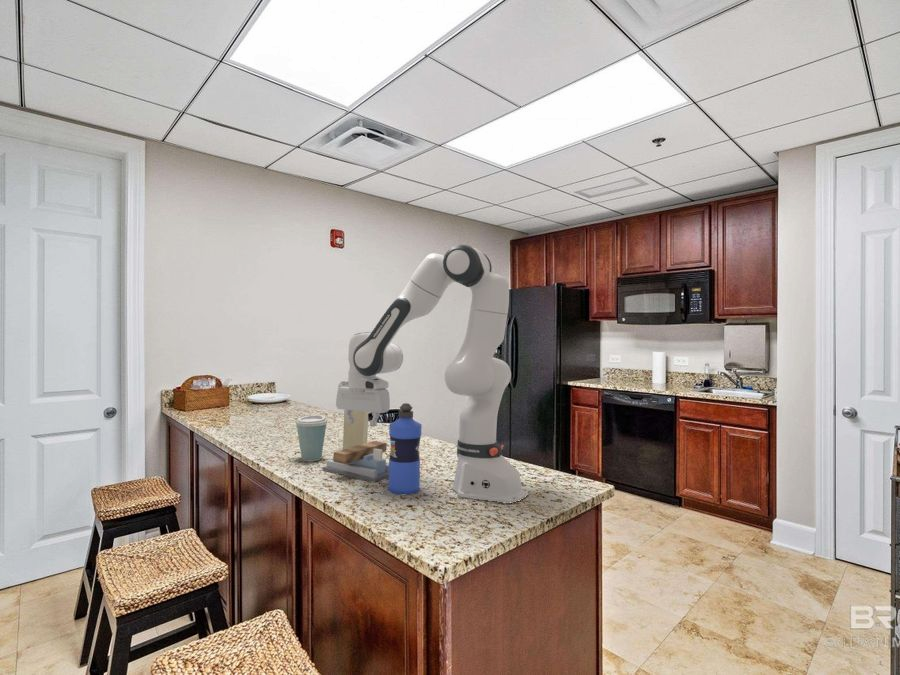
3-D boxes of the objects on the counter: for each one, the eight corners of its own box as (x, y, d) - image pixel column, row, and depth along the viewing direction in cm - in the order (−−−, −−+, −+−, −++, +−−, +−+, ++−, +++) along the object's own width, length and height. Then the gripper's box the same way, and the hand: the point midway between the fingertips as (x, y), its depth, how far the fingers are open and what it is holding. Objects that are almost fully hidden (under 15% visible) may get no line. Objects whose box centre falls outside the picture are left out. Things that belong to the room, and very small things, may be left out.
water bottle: (390, 495, 132) (392, 406, 132) (385, 485, 141) (388, 401, 140) (422, 493, 134) (425, 406, 134) (416, 483, 143) (418, 401, 143)
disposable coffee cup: (317, 464, 161) (318, 420, 161) (288, 462, 163) (290, 418, 163) (331, 457, 171) (332, 415, 171) (304, 454, 173) (305, 414, 173)
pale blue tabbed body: (385, 472, 151) (386, 448, 151) (376, 475, 147) (377, 451, 147) (339, 462, 161) (339, 440, 161) (329, 464, 157) (330, 442, 157)
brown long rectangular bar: (345, 464, 144) (345, 454, 144) (333, 461, 146) (333, 452, 146) (386, 451, 161) (386, 442, 161) (375, 449, 164) (375, 440, 164)
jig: (396, 473, 152) (396, 464, 152) (374, 482, 143) (374, 472, 143) (345, 462, 164) (346, 454, 164) (322, 470, 154) (322, 461, 154)
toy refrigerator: (368, 448, 186) (369, 395, 186) (362, 452, 178) (364, 397, 178) (348, 447, 187) (350, 394, 186) (342, 451, 179) (344, 396, 179)
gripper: (331, 381, 156) (331, 423, 156) (380, 384, 145) (379, 429, 145) (345, 380, 161) (345, 420, 161) (392, 382, 151) (392, 426, 151)
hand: (361, 424), depth 153 cm, fingers open, 8 cm apart
